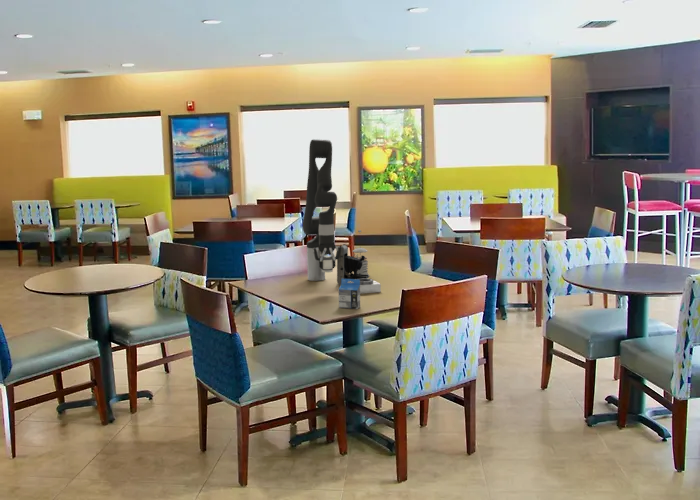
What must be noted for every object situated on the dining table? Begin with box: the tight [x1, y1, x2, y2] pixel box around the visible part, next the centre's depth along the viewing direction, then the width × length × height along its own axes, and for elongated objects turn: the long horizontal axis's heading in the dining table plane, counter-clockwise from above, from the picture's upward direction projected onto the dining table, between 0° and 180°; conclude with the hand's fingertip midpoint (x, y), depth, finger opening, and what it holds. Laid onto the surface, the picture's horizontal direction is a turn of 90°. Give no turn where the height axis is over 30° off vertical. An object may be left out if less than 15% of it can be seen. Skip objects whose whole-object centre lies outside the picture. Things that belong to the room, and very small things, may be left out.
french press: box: [352, 229, 371, 277], centre depth 380 cm, size 10×12×25 cm
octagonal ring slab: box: [348, 278, 382, 295], centre depth 340 cm, size 9×15×6 cm, turn 106°
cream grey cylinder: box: [322, 255, 334, 273], centre depth 340 cm, size 5×5×7 cm
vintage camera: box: [336, 243, 370, 286], centre depth 360 cm, size 10×16×20 cm, turn 78°
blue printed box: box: [338, 279, 361, 310], centre depth 306 cm, size 9×4×12 cm, turn 69°
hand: (327, 268), depth 341 cm, fingers closed on cream grey cylinder, 5 cm apart
